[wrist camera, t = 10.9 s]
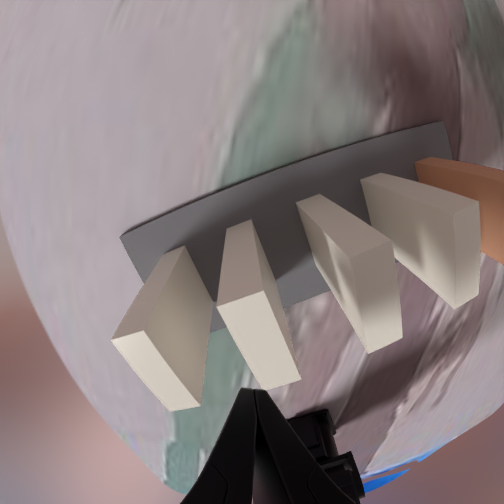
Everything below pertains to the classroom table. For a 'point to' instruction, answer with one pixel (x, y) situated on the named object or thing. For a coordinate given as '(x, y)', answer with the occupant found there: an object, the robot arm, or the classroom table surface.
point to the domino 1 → (169, 331)
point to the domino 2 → (255, 309)
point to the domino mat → (282, 211)
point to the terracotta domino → (472, 195)
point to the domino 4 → (429, 233)
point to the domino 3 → (355, 269)
